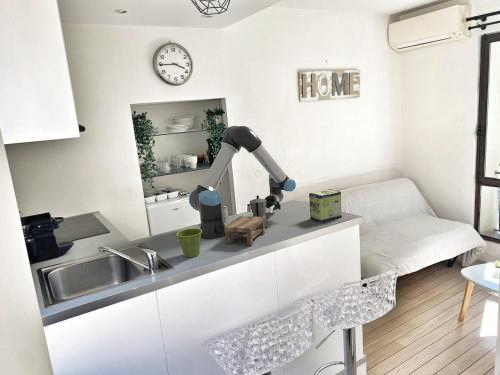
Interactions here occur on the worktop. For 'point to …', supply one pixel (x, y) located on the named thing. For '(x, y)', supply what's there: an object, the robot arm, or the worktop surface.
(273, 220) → the worktop surface
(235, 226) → the stool
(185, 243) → the plant pot
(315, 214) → the protein box
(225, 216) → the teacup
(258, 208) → the coffeepot
